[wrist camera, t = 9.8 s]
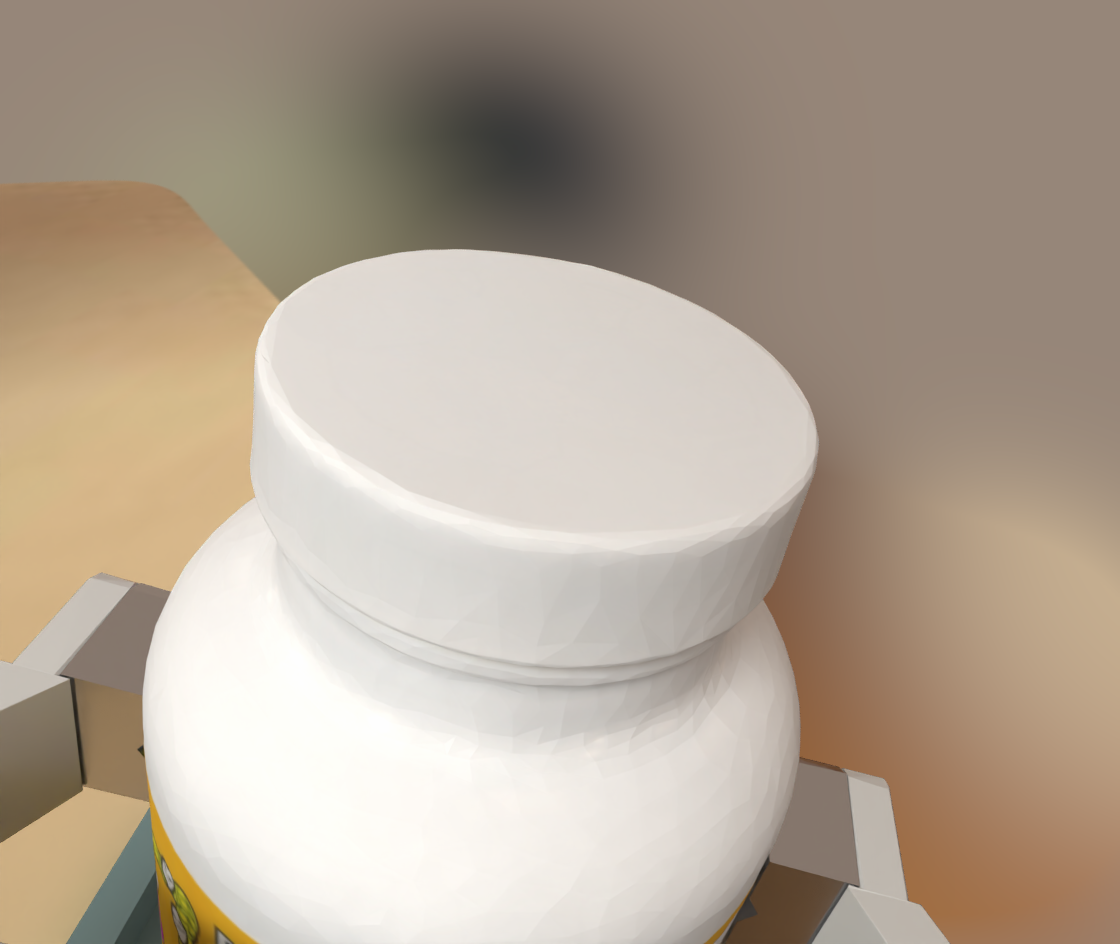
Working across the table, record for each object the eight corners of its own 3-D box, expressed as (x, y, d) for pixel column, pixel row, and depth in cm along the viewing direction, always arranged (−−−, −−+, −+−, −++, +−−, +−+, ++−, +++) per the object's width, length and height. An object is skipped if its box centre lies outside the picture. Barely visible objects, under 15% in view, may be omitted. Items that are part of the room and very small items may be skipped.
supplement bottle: (301, 827, 18) (347, 155, 11) (638, 943, 18) (916, 312, 11) (72, 1241, 13) (-129, 440, 6) (549, 1430, 12) (1007, 805, 5)
